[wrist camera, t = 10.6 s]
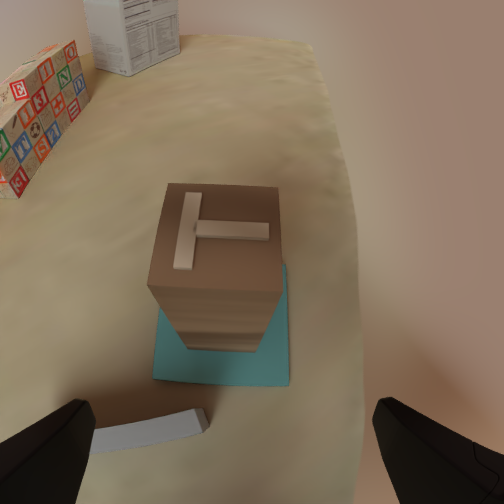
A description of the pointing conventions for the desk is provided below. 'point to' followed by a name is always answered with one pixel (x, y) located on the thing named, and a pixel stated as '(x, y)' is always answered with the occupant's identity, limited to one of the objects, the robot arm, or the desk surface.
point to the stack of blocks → (37, 112)
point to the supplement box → (132, 33)
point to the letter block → (218, 264)
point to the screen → (149, 431)
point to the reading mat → (226, 356)
